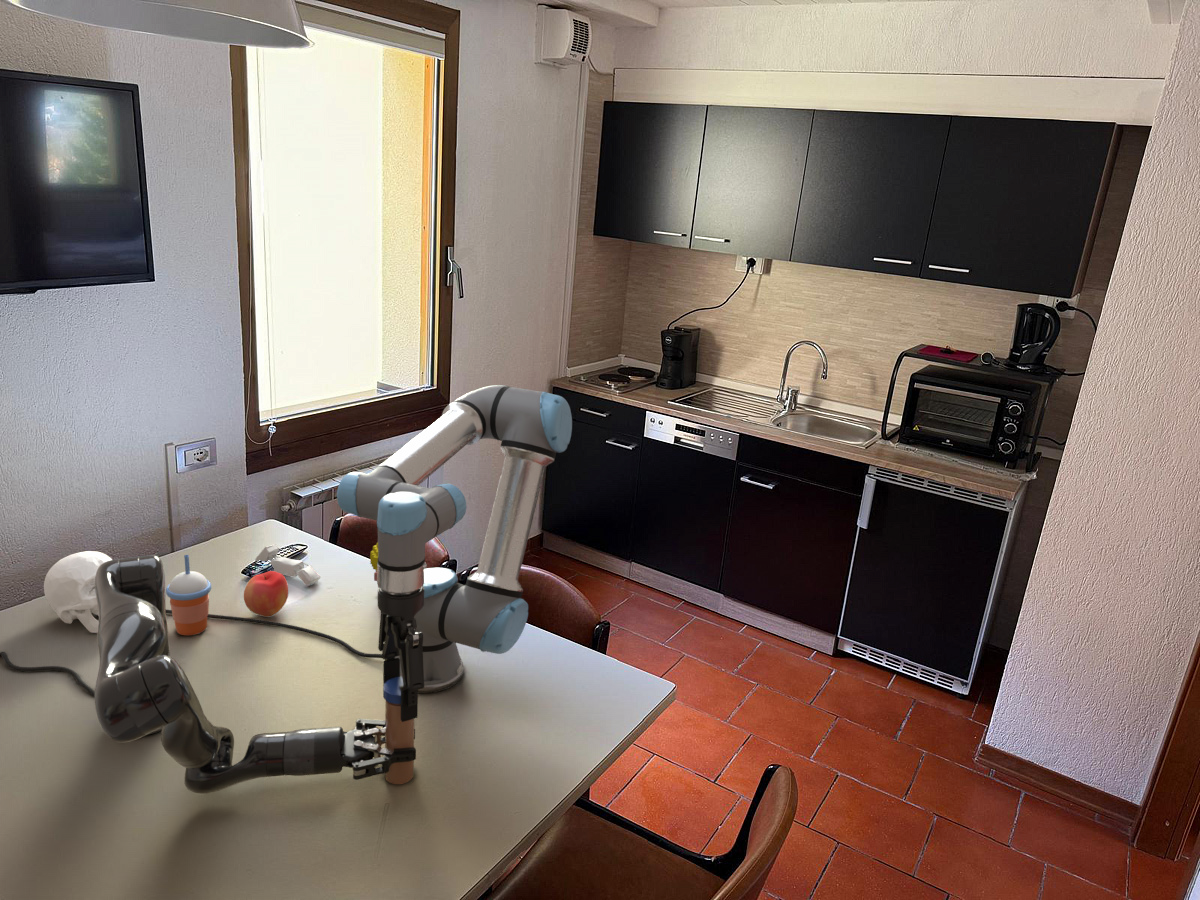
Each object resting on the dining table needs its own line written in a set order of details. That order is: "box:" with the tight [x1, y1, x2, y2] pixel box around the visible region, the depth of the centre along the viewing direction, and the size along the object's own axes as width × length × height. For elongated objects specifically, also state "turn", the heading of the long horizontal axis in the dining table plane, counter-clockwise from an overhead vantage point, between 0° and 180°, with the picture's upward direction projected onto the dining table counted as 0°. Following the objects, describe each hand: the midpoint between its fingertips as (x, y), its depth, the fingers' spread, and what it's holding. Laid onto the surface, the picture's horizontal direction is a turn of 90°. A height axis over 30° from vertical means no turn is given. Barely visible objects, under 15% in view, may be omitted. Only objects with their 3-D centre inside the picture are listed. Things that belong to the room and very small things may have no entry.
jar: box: [384, 699, 415, 785], centre depth 149 cm, size 5×5×17 cm
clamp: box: [254, 544, 322, 587], centre depth 219 cm, size 20×4×7 cm, turn 62°
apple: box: [243, 570, 289, 618], centre depth 199 cm, size 10×10×10 cm
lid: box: [382, 677, 403, 704], centre depth 146 cm, size 6×6×2 cm
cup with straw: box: [165, 554, 212, 636], centre depth 189 cm, size 9×9×18 cm
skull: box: [43, 550, 113, 634], centre depth 190 cm, size 13×22×16 cm, turn 73°
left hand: (414, 743), depth 150 cm, fingers closed on jar, 5 cm apart
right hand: (400, 705), depth 147 cm, fingers open, 8 cm apart
